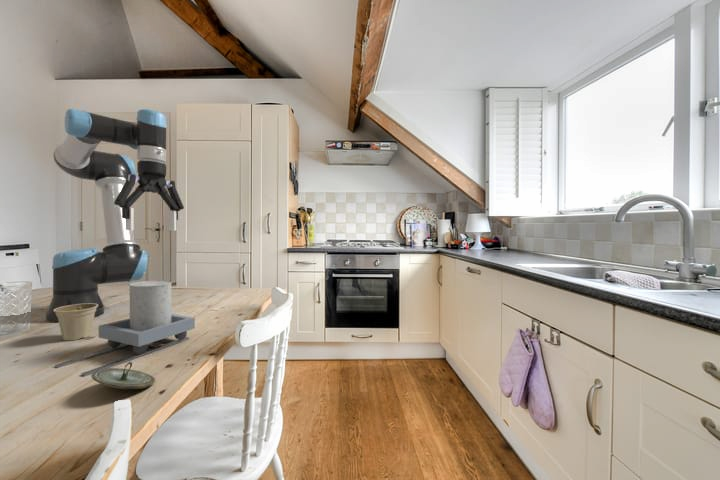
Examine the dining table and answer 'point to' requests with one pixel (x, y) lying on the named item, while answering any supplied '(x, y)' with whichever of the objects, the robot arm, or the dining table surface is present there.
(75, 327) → the flower pot
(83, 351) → the dining table surface
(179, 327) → the cart
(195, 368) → the dining table surface
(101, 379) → the lid
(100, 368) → the track
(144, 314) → the grey canister
